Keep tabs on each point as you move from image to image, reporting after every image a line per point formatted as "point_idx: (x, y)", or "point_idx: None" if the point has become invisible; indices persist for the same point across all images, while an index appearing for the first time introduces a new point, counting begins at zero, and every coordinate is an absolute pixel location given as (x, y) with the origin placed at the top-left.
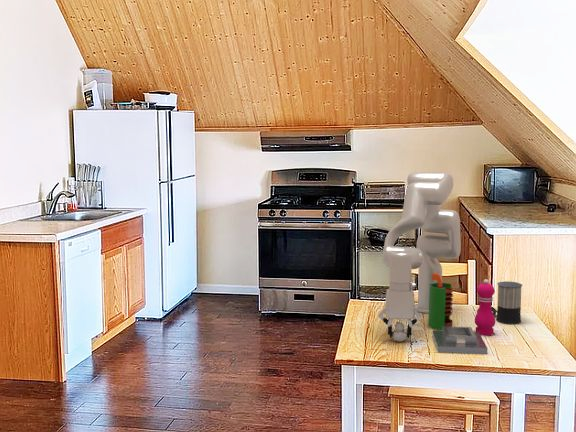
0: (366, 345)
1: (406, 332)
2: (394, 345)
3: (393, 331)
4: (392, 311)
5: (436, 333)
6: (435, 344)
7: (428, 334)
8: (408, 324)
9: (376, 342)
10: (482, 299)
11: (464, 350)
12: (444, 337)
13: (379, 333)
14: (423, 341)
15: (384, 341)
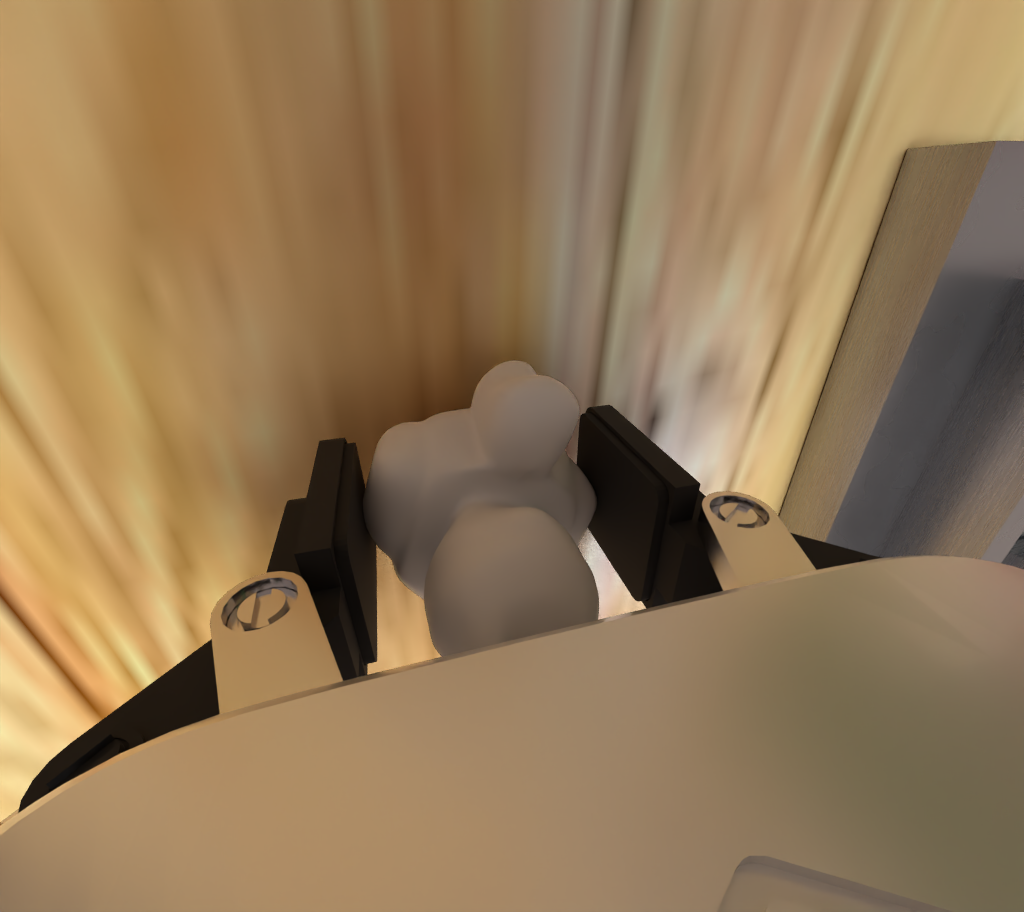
0: (97, 690)
1: (589, 522)
2: (419, 598)
3: (395, 553)
4: None
5: (951, 311)
6: (792, 500)
7: (886, 83)
8: (684, 588)
9: (181, 578)
10: None
11: None
12: (929, 505)
13: (21, 96)
14: (723, 411)
15: (278, 519)
